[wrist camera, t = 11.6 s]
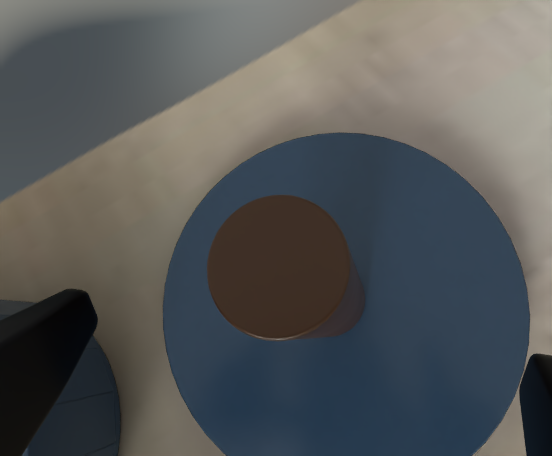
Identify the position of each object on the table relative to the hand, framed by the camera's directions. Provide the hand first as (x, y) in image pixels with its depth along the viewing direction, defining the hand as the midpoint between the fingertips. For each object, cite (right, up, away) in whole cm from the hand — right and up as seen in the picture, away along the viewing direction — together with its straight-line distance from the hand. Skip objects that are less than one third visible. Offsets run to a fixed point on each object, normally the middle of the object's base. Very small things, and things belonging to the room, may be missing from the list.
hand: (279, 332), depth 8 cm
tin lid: (+2, -1, +8) cm, 8 cm away
